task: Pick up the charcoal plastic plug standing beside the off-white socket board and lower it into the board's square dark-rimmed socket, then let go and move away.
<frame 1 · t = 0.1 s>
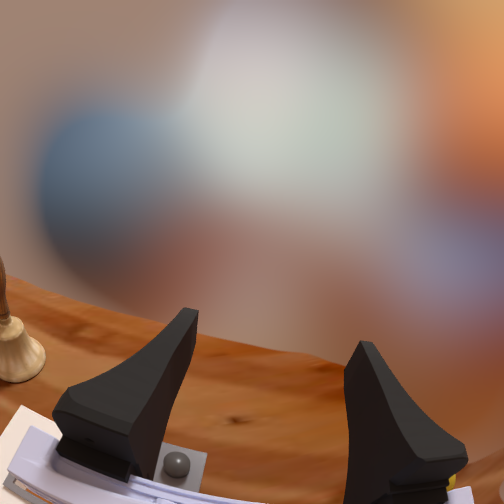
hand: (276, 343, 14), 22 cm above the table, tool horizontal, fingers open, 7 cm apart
hand bell: (18, 360, 31), on the table
plug: (176, 494, 23), on the table
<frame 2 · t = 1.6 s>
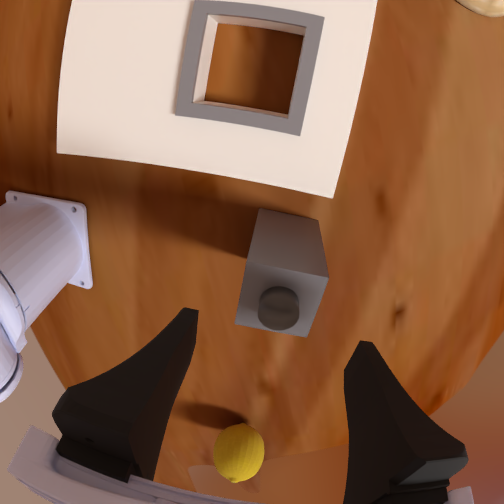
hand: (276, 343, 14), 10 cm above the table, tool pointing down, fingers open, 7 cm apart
lemon: (243, 422, 34), on the table
socket board: (204, 60, 17), on the table
plug: (282, 240, 22), on the table
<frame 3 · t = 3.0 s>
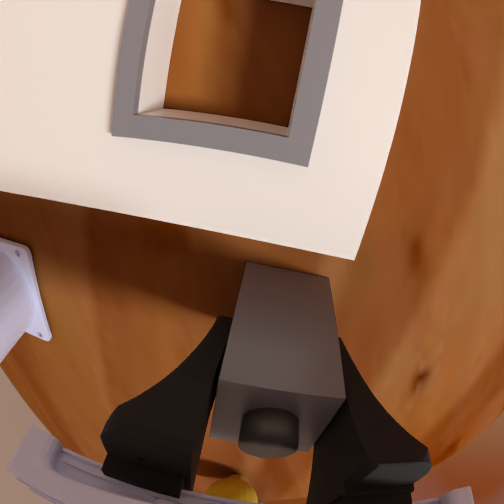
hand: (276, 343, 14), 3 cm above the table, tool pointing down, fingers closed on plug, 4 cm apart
lemon: (235, 473, 28), on the table
socket board: (162, 48, 11), on the table
plug: (279, 302, 16), on the table, touching gripper
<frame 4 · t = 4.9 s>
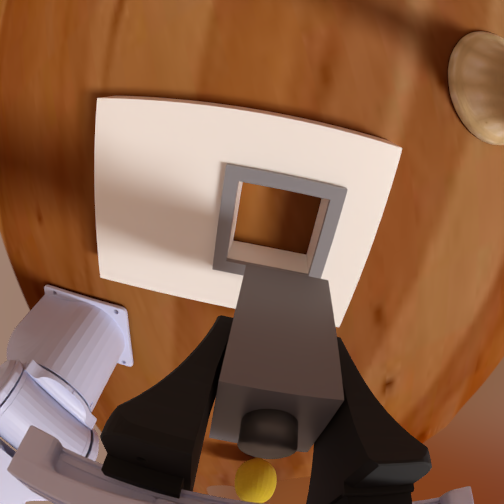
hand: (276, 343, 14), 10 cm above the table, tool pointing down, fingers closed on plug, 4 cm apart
hand bell: (492, 87, 15), on the table
lemon: (258, 455, 39), on the table
socket board: (232, 204, 21), on the table
plug: (278, 304, 16), point 7 cm above the table, touching gripper
when the fingers open (4 cm above the table, at t = 6.9 s): plug drops 1 cm, resting in socket board.
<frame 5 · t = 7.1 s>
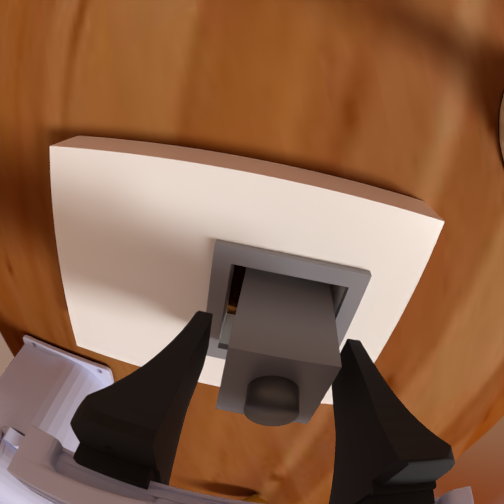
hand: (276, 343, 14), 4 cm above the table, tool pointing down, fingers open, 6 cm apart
lemon: (255, 493, 35), on the table
socket board: (225, 275, 17), on the table
plug: (280, 287, 18), resting in socket board
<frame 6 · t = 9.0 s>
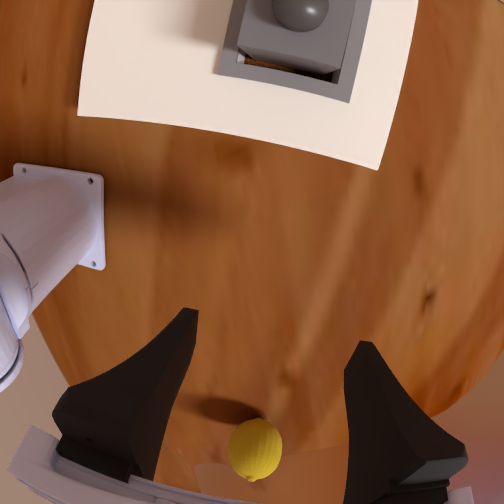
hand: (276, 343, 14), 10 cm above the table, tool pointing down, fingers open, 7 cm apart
lemon: (258, 416, 33), on the table
socket board: (244, 26, 15), on the table
plug: (295, 37, 16), resting in socket board
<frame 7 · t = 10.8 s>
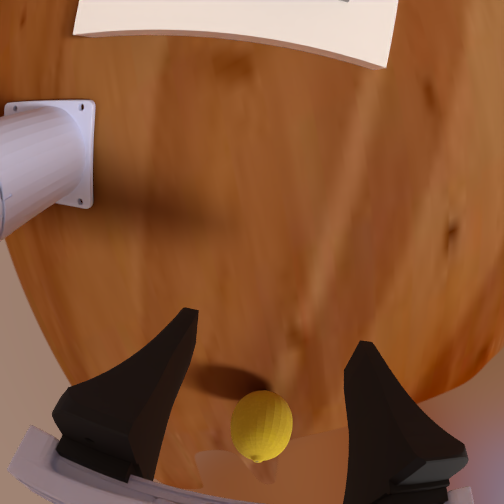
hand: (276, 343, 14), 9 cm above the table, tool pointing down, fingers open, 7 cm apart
lemon: (265, 389, 30), on the table
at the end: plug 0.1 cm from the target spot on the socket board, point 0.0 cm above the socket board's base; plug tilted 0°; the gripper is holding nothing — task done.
